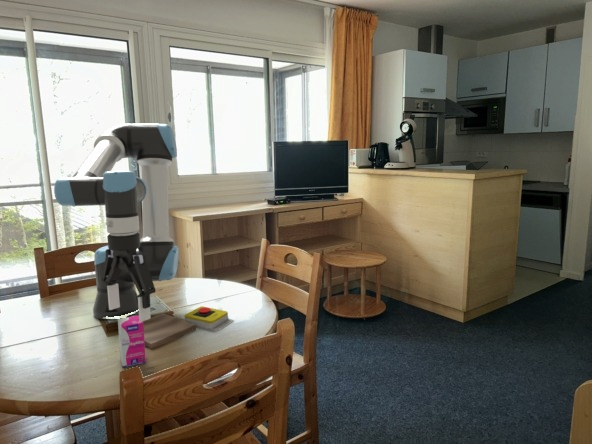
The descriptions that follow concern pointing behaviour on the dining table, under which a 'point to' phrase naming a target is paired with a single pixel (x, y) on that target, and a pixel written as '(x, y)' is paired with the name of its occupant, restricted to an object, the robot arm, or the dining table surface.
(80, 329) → the dining table surface
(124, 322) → the supplement box
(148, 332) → the walnut board
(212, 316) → the emergency button
